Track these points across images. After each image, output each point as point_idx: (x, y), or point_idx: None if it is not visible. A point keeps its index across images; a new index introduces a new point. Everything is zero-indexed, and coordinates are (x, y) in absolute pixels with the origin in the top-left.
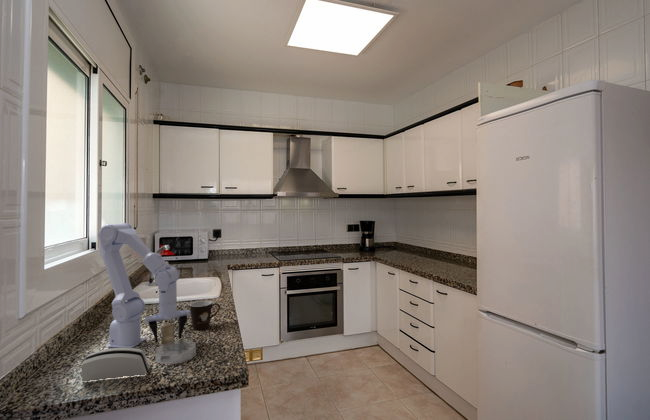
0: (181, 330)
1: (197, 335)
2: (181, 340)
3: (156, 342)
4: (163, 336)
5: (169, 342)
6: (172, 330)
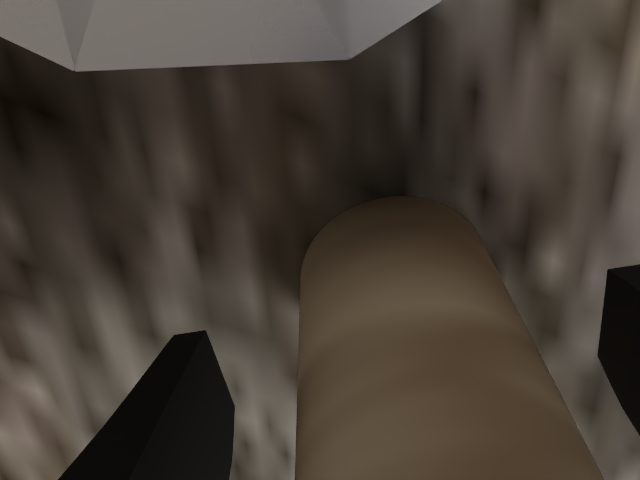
0: (108, 453)
1: (9, 452)
2: (62, 38)
3: (637, 268)
4: (535, 354)
5: (395, 8)
6: (335, 465)
